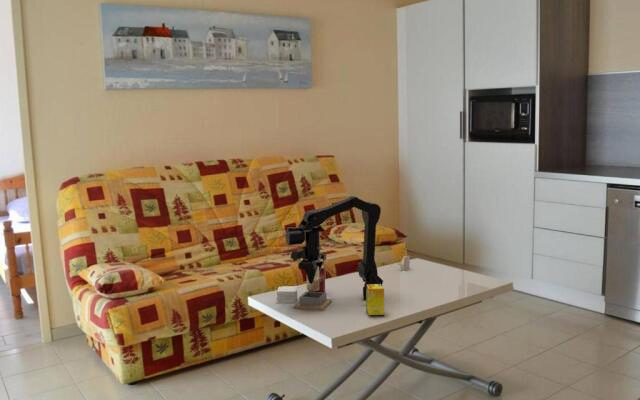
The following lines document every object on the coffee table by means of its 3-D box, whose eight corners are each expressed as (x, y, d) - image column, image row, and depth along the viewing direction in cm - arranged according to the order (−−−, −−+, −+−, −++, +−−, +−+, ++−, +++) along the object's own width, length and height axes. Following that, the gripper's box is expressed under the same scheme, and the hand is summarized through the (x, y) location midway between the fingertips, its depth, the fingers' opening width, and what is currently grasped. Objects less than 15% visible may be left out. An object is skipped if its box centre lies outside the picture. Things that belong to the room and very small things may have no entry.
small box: (296, 303, 240) (296, 291, 239) (276, 303, 240) (276, 291, 239) (297, 298, 247) (297, 286, 247) (278, 298, 248) (278, 286, 247)
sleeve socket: (331, 301, 241) (331, 291, 240) (323, 310, 230) (323, 300, 229) (303, 299, 244) (303, 289, 244) (293, 308, 233) (293, 298, 232)
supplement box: (365, 312, 228) (365, 284, 226) (381, 311, 228) (381, 283, 227) (368, 317, 222) (368, 288, 220) (384, 316, 222) (384, 288, 221)
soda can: (323, 297, 248) (323, 269, 246) (306, 296, 249) (306, 268, 248) (326, 292, 255) (326, 264, 253) (310, 291, 256) (309, 264, 255)
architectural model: (397, 271, 291) (397, 256, 290) (404, 268, 296) (404, 254, 295) (403, 272, 289) (403, 257, 288) (410, 269, 294) (410, 255, 293)
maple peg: (320, 288, 238) (320, 266, 237) (317, 291, 233) (316, 268, 232) (308, 287, 239) (308, 265, 238) (305, 290, 234) (304, 268, 233)
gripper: (300, 237, 245) (301, 274, 247) (285, 247, 227) (285, 286, 229) (326, 238, 242) (326, 276, 244) (312, 248, 224) (313, 288, 226)
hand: (313, 281), depth 236 cm, fingers closed on maple peg, 5 cm apart
